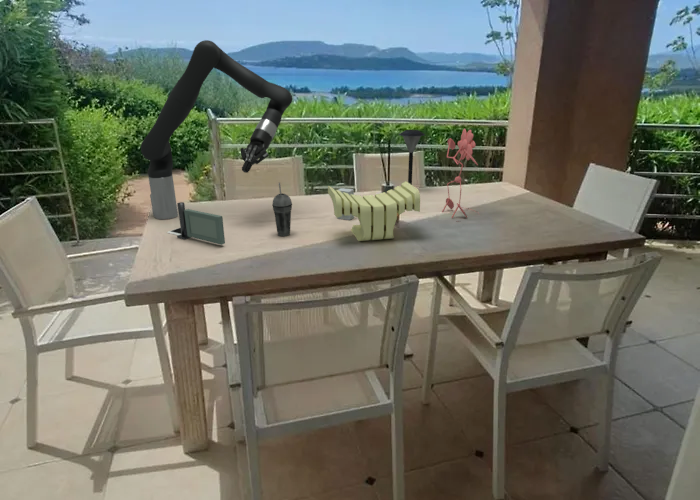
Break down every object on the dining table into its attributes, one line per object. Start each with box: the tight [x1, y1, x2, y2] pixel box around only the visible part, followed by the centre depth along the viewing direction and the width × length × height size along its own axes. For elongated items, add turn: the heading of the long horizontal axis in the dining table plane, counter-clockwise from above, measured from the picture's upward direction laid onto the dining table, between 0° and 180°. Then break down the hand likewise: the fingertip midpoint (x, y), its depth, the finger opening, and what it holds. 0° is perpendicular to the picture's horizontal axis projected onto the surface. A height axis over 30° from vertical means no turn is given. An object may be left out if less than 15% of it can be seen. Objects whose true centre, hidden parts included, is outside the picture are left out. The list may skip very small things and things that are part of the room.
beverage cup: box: [272, 182, 293, 237], centre depth 179 cm, size 7×7×20 cm
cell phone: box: [166, 226, 181, 236], centre depth 190 cm, size 8×16×1 cm, turn 149°
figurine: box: [441, 128, 479, 223], centre depth 200 cm, size 15×26×35 cm, turn 15°
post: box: [176, 201, 192, 241], centre depth 178 cm, size 4×4×13 cm
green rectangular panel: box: [184, 208, 226, 246], centre depth 173 cm, size 17×2×10 cm, turn 58°
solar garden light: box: [398, 129, 426, 186], centre depth 233 cm, size 12×12×30 cm
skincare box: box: [336, 187, 355, 221], centre depth 199 cm, size 6×4×12 cm
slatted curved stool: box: [327, 180, 421, 242], centre depth 178 cm, size 30×16×18 cm, turn 103°
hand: (244, 171), depth 183 cm, fingers closed
